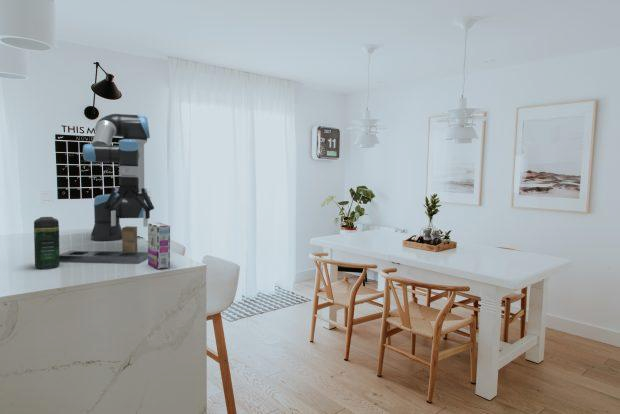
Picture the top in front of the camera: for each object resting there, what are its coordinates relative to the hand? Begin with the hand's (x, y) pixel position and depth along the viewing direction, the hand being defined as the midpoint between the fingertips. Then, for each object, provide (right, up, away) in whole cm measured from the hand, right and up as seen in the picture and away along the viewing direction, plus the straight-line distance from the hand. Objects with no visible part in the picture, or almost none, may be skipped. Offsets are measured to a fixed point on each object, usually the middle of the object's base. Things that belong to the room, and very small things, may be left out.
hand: (129, 226), depth 174 cm
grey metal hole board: (-6, -13, -10) cm, 18 cm away
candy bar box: (+19, -15, -17) cm, 29 cm away
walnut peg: (0, -12, +1) cm, 13 cm away
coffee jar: (-21, -14, -22) cm, 33 cm away
